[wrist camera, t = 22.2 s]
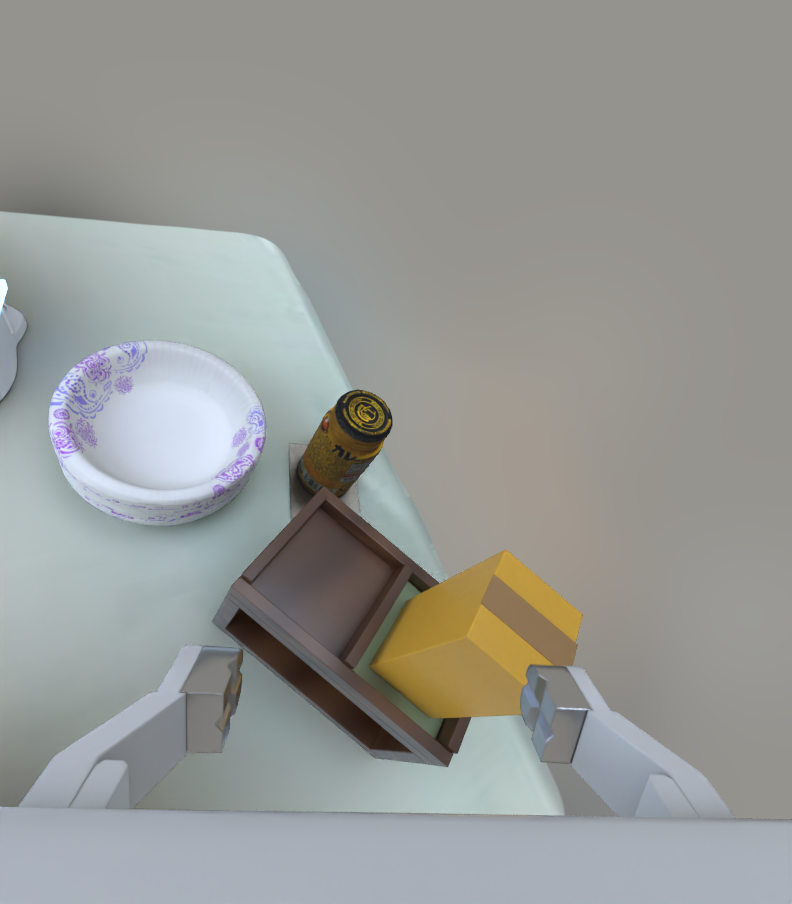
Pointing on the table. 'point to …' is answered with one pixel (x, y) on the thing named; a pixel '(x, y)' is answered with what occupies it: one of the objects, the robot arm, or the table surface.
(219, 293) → the table surface
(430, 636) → the package
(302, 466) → the condiment
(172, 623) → the table surface
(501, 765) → the table surface
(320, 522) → the rack
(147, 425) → the paper bowls
